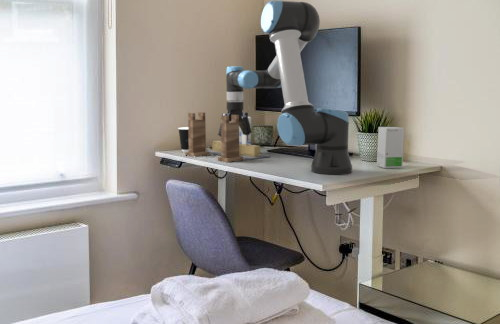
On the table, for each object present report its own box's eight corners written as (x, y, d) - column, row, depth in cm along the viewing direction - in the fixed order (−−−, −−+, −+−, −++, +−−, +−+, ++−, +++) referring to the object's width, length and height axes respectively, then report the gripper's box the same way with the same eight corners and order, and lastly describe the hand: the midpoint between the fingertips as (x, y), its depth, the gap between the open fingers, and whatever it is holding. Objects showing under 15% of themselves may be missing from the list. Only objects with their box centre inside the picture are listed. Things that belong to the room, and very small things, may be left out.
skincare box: (384, 168, 211) (385, 128, 208) (375, 166, 217) (377, 126, 215) (403, 167, 213) (405, 127, 211) (394, 165, 219) (396, 126, 217)
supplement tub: (228, 146, 278) (228, 117, 276) (237, 144, 286) (237, 115, 284) (245, 147, 274) (245, 117, 271) (254, 145, 282) (254, 116, 280)
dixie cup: (190, 152, 256) (190, 128, 254) (175, 151, 258) (175, 128, 256) (198, 150, 263) (197, 127, 261) (183, 149, 266) (182, 126, 264)
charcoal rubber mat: (270, 156, 241) (270, 155, 241) (250, 159, 233) (250, 158, 233) (221, 150, 264) (221, 148, 264) (202, 152, 256) (202, 151, 256)
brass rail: (260, 156, 240) (260, 145, 239) (254, 156, 237) (254, 146, 237) (217, 150, 260) (217, 140, 259) (212, 150, 257) (211, 141, 256)
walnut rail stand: (243, 160, 233) (243, 115, 230) (227, 162, 227) (227, 116, 224) (200, 153, 252) (200, 112, 250) (185, 155, 246) (184, 112, 243)
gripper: (247, 100, 255) (247, 147, 259) (209, 102, 239) (210, 152, 243) (259, 100, 250) (259, 148, 254) (220, 102, 234) (221, 153, 237)
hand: (235, 150), depth 248 cm, fingers open, 11 cm apart
